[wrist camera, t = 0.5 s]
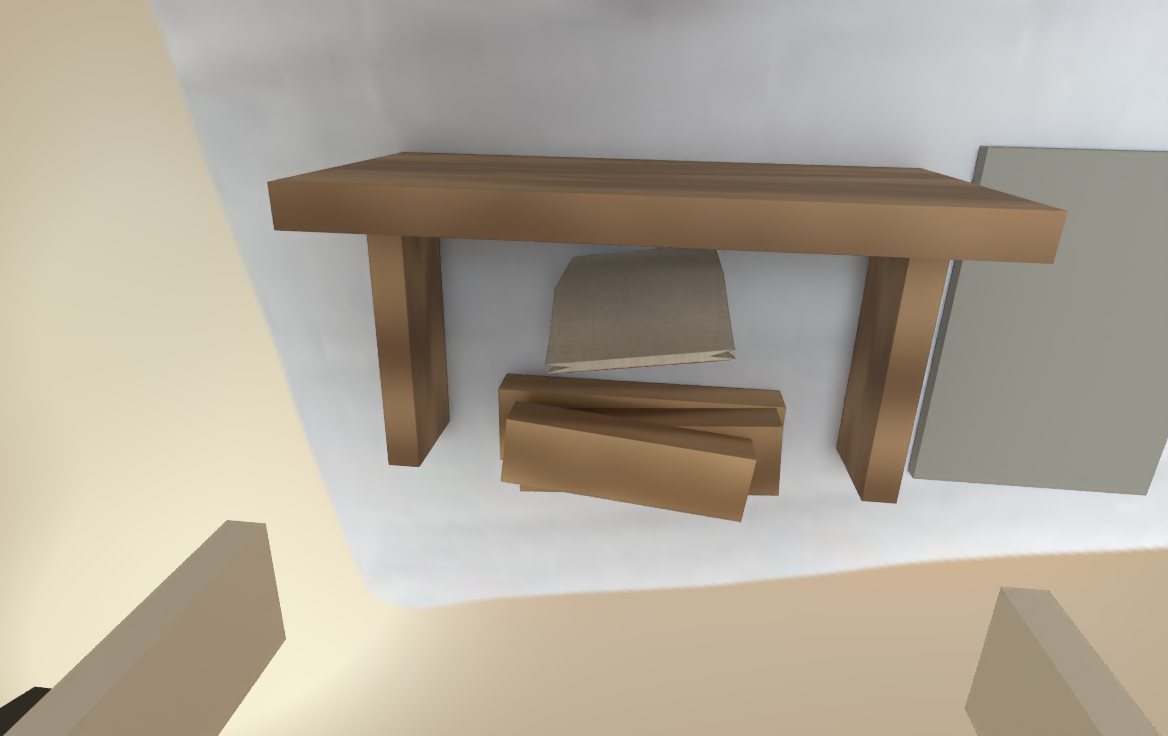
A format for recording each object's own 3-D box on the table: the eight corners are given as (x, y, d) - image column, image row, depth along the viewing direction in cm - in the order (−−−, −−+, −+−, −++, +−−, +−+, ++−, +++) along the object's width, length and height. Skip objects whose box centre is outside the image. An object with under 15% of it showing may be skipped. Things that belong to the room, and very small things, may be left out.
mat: (980, 146, 30) (988, 147, 29) (1257, 153, 29) (1273, 155, 28) (908, 470, 36) (913, 478, 35) (1136, 487, 35) (1146, 495, 34)
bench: (403, 152, 33) (267, 181, 21) (921, 168, 30) (1068, 211, 19) (422, 419, 38) (321, 554, 27) (866, 450, 36) (956, 611, 24)
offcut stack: (506, 367, 36) (477, 417, 31) (780, 384, 35) (801, 439, 29) (508, 450, 38) (481, 511, 32) (768, 469, 37) (787, 536, 31)
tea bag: (573, 257, 34) (537, 318, 24) (714, 243, 33) (732, 301, 23) (582, 329, 35) (552, 413, 26) (718, 317, 34) (737, 400, 25)
